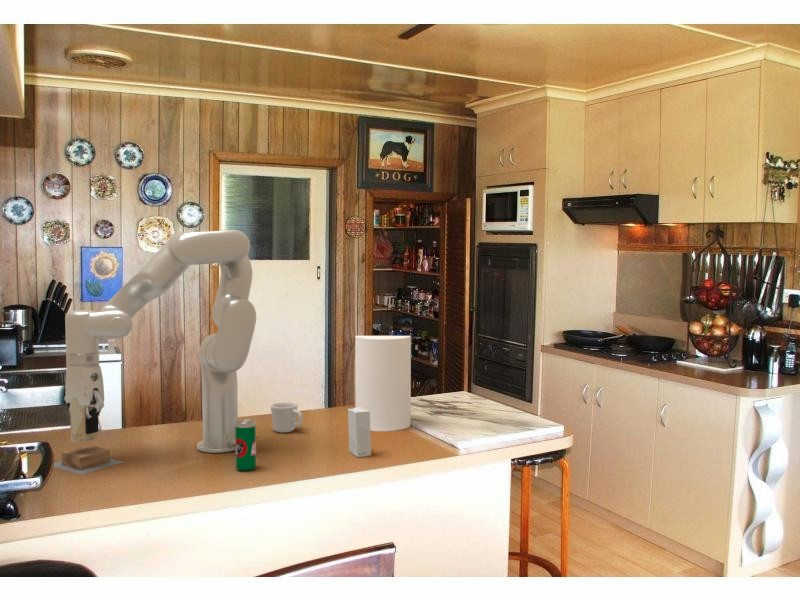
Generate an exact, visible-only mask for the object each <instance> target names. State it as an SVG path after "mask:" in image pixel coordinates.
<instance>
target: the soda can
mask: <svg viewBox="0 0 800 600" xmlns="http://www.w3.org/2000/svg"><path fill="white" fill-rule="evenodd" d="M236 423H237V424H236V426H235V450H234V452H235V468H236V470H237V471H239V472H250V471H253V470H255V469H256V467H257V425H256V423H255V421H254V420H252V419H241V420H239V419H238V421H237V422H236Z"/></svg>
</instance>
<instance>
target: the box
mask: <svg viewBox="0 0 800 600" xmlns="http://www.w3.org/2000/svg"><path fill="white" fill-rule="evenodd" d="M92 404H93V402H91V403H90V405H92ZM92 409H93V407H91V408H90V411H91V410H92ZM70 410H71V414H70V415H71V429H70V442H71V443H83V444H85V443H89V442H91V441H94V440H97V439H99V438H98V432H95V433H91V434H86V427H85V418H87V415H86V410H85V406H82V405H80V404H79V402H78V400H77V399H76V398H71V399H70Z"/></svg>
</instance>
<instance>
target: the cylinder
mask: <svg viewBox="0 0 800 600" xmlns="http://www.w3.org/2000/svg"><path fill="white" fill-rule="evenodd" d="M354 346H355V350H354V351H355V353H354V354H355V355H354V357H355V365H354V366H355V370H354V372H355V379H354V380H355V382H354V383H355V408H357V407H362V408H364V409H366V410H368V411H370V432H371V431H372V432H395V431H402V430H405V429H408V428H409V427H411V420H412V417H411V416H412V414H411V413H412V411H411V406H412V404H411V403H412V402H411V401H412V398H411V397H412V396H411V393H412V392H411V389H412V388H411V387H412V386H411V384H412V381H411V380H412V379H411V378H412V376H411V375H412V370H411V369H412V365H411V364H412V359H411V358H412V351H411V350H412V347H411V346H412V336H411V335H355V344H354Z"/></svg>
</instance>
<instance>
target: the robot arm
mask: <svg viewBox="0 0 800 600" xmlns="http://www.w3.org/2000/svg"><path fill="white" fill-rule="evenodd" d="M250 249H251V242H250V239H249V237H248V236H247V235H246V234H245V233H244V232H243V231H241V230H238V229H222V230H221V229H220V230H212V231H211V230H210V231H184V232H178V233H176V234H174V235H172V236H171V237H170V238H169V239H168V240H167V241H166V242H165V243H164V244H163V245H162V247H160V248H159V250H158V251H157V252H156V253H155V254H154V255H153V256H152V257H151V258H150V260H149V261H147V263H145V265H144V266H142V268H140V270H138V272H137V273H135V274H134V275H133V276H132V277H131V279H129V280H128V282H127V283H125V284H124V285H123V286H122V287H121V288H119V290H118V291H117V292H115V294H114V295H113V296H112V297H111V298H110V299H109V300H108V301H107V302H106V303H105V304H104V305H103V307H102V308H101V309H100V310H99V311H95V310H89V309H77V310H76V309H75V310H71V311H68V312H67V313H66V314H65V317H64V321H65V322H64V323H65V324H64V325H65V328H64V329H65V330H64V331H65V332H64V333H65V357H66V358H65V359H66V361H65V363H66V365H65V366H66V370H65V382H64V384H65V385H64V386H65V388H64V389H65V391H64V392H65V396H64V398H63V399H64V401H65V404H66V406H67V408H68V414H69V417H70V419H69V422H70V424H69V425H70V430H71V410H70V399H71V398H76V399H77V400H78V402H79V404H80V405H82V406H85V410H86V415H87V418H85V427H86V434H91V433H95V432H97V433H98V432H99V417H100V416H101V412H102V409H103V408H104V407H105V403H104V402H105V389H104V387H105V386H104V378H103V373H102V367H101V365H100V344H99V341H100V339H107V340H120V339H123V338H125V337H126V336H128V335H129V334H130V333H131V332H132V330H133V325H134V324H133V320H132V319H133V317H134V316H135V315H136V314H137V313H138V312H140V311H141V309H142V308H144V307H145V306H147V304H148V303H151V302H152V301H153V300H156V299H159V298H160V297H161V296H162V295H164V294H166V293H167V291H169V290H170V288H171V287H172V286H173V285H174V284H175V282H177V281H178V279H179V278H180V277H181V276H182V275H183V274H184V273H185V272H186V270H188V268H190V266H193V265H194V266H196V265H213V264H218V265H219V268H220V277H219V278H220V279H219V282H218V283H219V284H218V288H217V292H216V296H215V300H214V303H213V306H212V310H211V311H212V312H211V318H212V321H213V322H214V324H215V325H216V326H217V327H218V329H217V332H215V333H212V334H209V335H207V336H206V337H205V338H204V339H203V341H201V344H200V346H199V349H198V358H199V359H198V360H199V367H200V373H201V405H202V406H201V412H202V418H201V419H202V440H201V441H199V442H197V444H196V446H197V447H196V449H197V450H198V451H200V452H203V453H210V454H212V453H214V454H216V453H217V454H218V453H220V454H221V453H229V452H235V426H236V424H237V423H236V422H237V421H239V410H238V408H239V407H238V406H239V405H238V403H239V402H238V390H239V389H238V386H239V385H238V374H237V371H238V370H241V368H242V367H243V366H244V365H245V363H246V361H247V360H248V359H247V358H248V355H249V354H250V353H249V352H250V348H251V344H252V340H253V336H254V334H255V332H254V331H255V328H256V323H257V312H256V308H255V306H254V304H253V303H252V302H251V301H250V300H249V297H250V292H251V287H252V281H253V266H252V263H251V260H250V258H249V255H248V254H249V252H250ZM91 402H93V404H92V405H90V403H91ZM91 407H93V409H92V410H91V411H90V408H91Z"/></svg>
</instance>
